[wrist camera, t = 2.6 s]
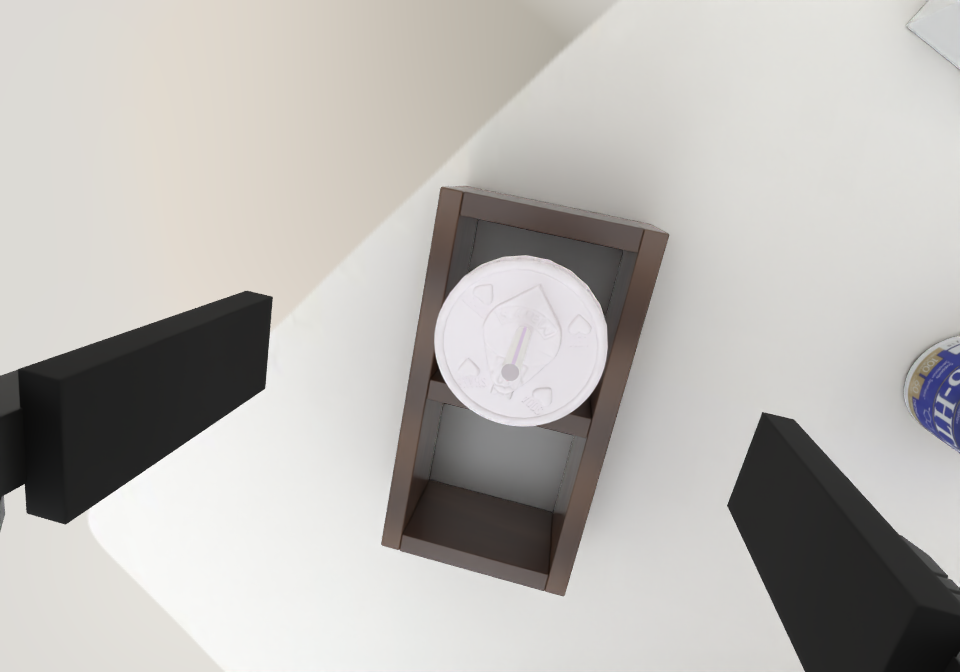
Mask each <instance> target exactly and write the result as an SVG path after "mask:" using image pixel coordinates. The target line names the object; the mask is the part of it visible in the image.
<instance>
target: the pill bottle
mask: <svg viewBox="0 0 960 672" xmlns="http://www.w3.org/2000/svg"><path fill="white" fill-rule="evenodd" d="M904 398H905V403H906V406H907V408H908V410H909V412H910V414H911V415H912V416H913V418H914V419H915V420H916V421H917V422H918V423H919V424H920V425H921V426H923V427H924V428H925V429H927V430H928V431H929V432H931V433H932V434H933V435H935V436H936V437H938V438H939V439H940V440H942V441H943V442H945V443H946V444H947V445H949V446H950V447H952V448H953V449H955V450H956V451H957V452H959V453H960V336H956V337H952V338H949V339H946V340H944V341H941V342H939V343H937V344H936V345H934V346H932V347H931V348H929V349H928V350H926V351H925V352H924V353H923V354H922V355H921V356H920V357H919V358H918V359H917V360H916V361H915V363H914V364H913V365H912V367H911V369H910V371H909V372H908V375H907V378H906V381H905V386H904Z"/></svg>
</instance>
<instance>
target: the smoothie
mask: <svg viewBox="0 0 960 672" xmlns="http://www.w3.org/2000/svg"><path fill="white" fill-rule="evenodd" d="M434 345H435V354H436V359H437V363H438V366H439V369H440V372H441V374H442V376H443V378H444V380H445V382H446V384H447V385H448V387H449V388H450V390H451V391H452V392H453V394H454V395H455V396H456V397H457V398H458V399H459V400H460V401H461V402H462V403H463V404H464V405H465V406H467V407H468V408H469V409H470V410H472V411H473V412H475V413H477V414H478V415H480V416H482V417H484V418H486V419H489V420H491V421H494V422H497V423H500V424H505V425H510V426H524V427H525V426H536V425H542V424H546V423H550V422H552V421H555V420H558V419H560V418H562V417H564V416H566V415H568V414H569V413H571V412H572V411H574V410H575V409H576V408H578V407H579V406H580V405H581V404H582V403H583V402H584V401H585V400H586V399H587V398H588V397H589V396H590V394H591V393H592V392H593V390H594V389H595V387H596V386H597V384H598V382H599V380H600V378H601V376H602V373H603V370H604V367H605V363H606V357H607V349H608V342H607V324H606V321H605V318H604V315H603V312H602V309H601V305H600V304H599V302H598V300H597V299H596V297H595V296H594V294H593V293H592V291H591V290H590V288H589V287H588V285H587V284H585V283H584V282H583V281H582V280H581V279H580V278H579V277H577V276H576V275H575V274H574V273H573V272H572V271H571V270H569V269H567V268H565V267H563V266H561V265H559V264H557V263H555V262H553V261H551V260H548V259H543V258H538V257H533V256H528V255H522V256H507V257H501V258H498V259H495V260H492V261H490V262H487V263H484V264H481V265H480V266H478V267H477V268H476V269H474V270H473V271H471V272H470V273H468V274H467V275H465V276H464V277H463V278H462V279H461V280H460V282H459V283H458V284H457V285H456V286H455V287H454V289H453V290H452V291H451V292H450V293H449V296H448V297H447V299H446V300H445V302H444V304H443V306H442V308H441V310H440V313H439V316H438V319H437V323H436V328H435V337H434Z"/></svg>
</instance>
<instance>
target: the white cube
mask: <svg viewBox="0 0 960 672" xmlns="http://www.w3.org/2000/svg"><path fill="white" fill-rule="evenodd" d="M906 26H907V27H908V28H909V29H910V30H911V31H913V32H914V33H915V34H916V35H918V36H919V37H920V38H921V39H923V40H924V41H925V42H926V43H928V44H929V45H930V46H931V47H932V48H934V49H935V50H936V51H937V52H939V53H940V54H941V55H942V56H944V57H945V58H946V59H947V60H949V61H950V62H951V63H952V64H953V65H955V66H956V67H957V68H958V69H960V0H928V1H927V3H926V4H925V5H924V6H923V7H922V8H921V9H920V10H919V12H918V13H917V14H916V15H915V16H914V17H913V18H912V19H911V21H910V22H909V23H908V24H907V25H906Z"/></svg>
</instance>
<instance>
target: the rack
mask: <svg viewBox="0 0 960 672" xmlns="http://www.w3.org/2000/svg"><path fill="white" fill-rule="evenodd" d="M478 219H480V220H484V221H489V222H494V223H498V224H503V225H508V226H513V227H517V228H522V229H527V230H531V231H536V232H541V233H545V234H550V235H555V236H560V237H564V238H569V239H574V240H578V241H583V242H588V243H592V244H597V245H602V246H607V247H611V248H616V249H621V250H623V254H622V258H621V261H620V265H619V269H618V273H617V276H616V280H615V284H614V287H613V291H612V295H611V299H610V302H609V306H608V310H607V314H606V317H605V321H606V324H607V342H608V349H607V357H606V363H605V367H604V370H603V373H602V376H601V378H600V380H599V382H598V384H597V386H596V387H595V389H594V390H593V392H592V393H591V394H590V396H589V397H588V398H587V399H586V400H585V401H584V402H583V403H582V404H581V405H580V406H579V407H578V408H576V409H575V410H574V411H572V412H571V413H569V414H568V415H566V416H564V417H562V418H560V419H558V420H555V421H552V422H550V423H546V424H542V425H536V426H538V427H542V428H546V429H550V430H554V431H558V432H562V433H566V434H570V435H574V436H573V440H572V444H571V448H570V451H569V455H568V459H567V462H566V466H565V470H564V474H563V477H562V481H561V485H560V489H559V492H558V496H557V500H556V503H555V507H554V511H553V512H549V511H546V510H542V509H538V508H534V507H531V506H527V505H523V504H519V503H515V502H512V501H508V500H504V499H500V498H497V497H493V496H489V495H485V494H481V493H478V492H474V491H470V490H466V489H462V488H459V487H455V486H451V485H447V484H444V483H440V482H436V481H432V480H429V477H430V472H431V467H432V461H433V456H434V451H435V446H436V440H437V435H438V430H439V424H440V419H441V414H442V409H443V403H446V404H450V405H454V406H458V407H462V408H466V409H469V408H468V407H467V406H465V405H464V404H463V403H462V402H461V401H460V400H459V399H458V398H457V397H456V396H455V395H454V394H453V392H452V391H451V390H450V388H449V387H448V385H447V384H446V382H445V380H444V378H443V376H442V374H441V372H440V369H439V366H438V363H437V359H436V354H435V345H434V337H435V328H436V323H437V319H438V316H439V313H440V310H441V308H442V306H443V304H444V302H445V300H446V299H447V297H448V296H449V293H450V292H451V291H452V290H453V289H454V287H455V286H456V285H457V284H458V283H459V282H460V280H461V279H462V278H463V277H464V276H465V275H467V274H468V271H469V266H470V260H471V255H472V250H473V245H474V239H475V234H476V229H477V223H478ZM668 237H669V234H668V233H666V232H664V231H662V230H660V229H659V228H657V227H655V226H653V225H651V224H647V223H642V222H638V221H631V220H628V219H623V218H618V217H613V216H609V215H604V214H599V213H594V212H589V211H584V210H580V209H575V208H570V207H565V206H560V205H555V204H551V203H546V202H541V201H536V200H531V199H526V198H522V197H517V196H512V195H507V194H502V193H497V192H493V191H488V190H482V189H478V188H473V187H468V186H453V187H441V189H440V195H439V201H438V207H437V213H436V219H435V225H434V231H433V237H432V243H431V249H430V255H429V261H428V267H427V273H426V279H425V285H424V291H423V297H422V303H421V309H420V315H419V321H418V327H417V333H416V339H415V345H414V351H413V357H412V363H411V369H410V375H409V381H408V387H407V393H406V399H405V405H404V411H403V417H402V423H401V429H400V435H399V441H398V447H397V453H396V459H395V465H394V471H393V477H392V482H391V488H390V494H389V500H388V506H387V512H386V518H385V524H384V530H383V536H382V542H381V544H382V546H386V547H389V548H393V549H397V550H399V549H400V551H402V552H406V553H410V554H413V555H417V556H420V557H424V558H428V559H431V560H435V561H438V562H442V563H445V564H449V565H453V566H456V567H460V568H463V569H467V570H470V571H474V572H478V573H481V574H485V575H488V576H492V577H495V578H499V579H503V580H506V581H510V582H513V583H517V584H521V585H524V586H528V587H531V588H535V589H538V590H542V591H544V590H545V591H546V592H549V593H553V594H557V595H560V596H564V595H565V592H566V589H567V585H568V582H569V579H570V575H571V572H572V568H573V565H574V561H575V558H576V554H577V551H578V548H579V544H580V541H581V537H582V534H583V530H584V527H585V523H586V520H587V517H588V513H589V510H590V506H591V503H592V499H593V496H594V492H595V489H596V486H597V482H598V479H599V475H600V472H601V468H602V465H603V461H604V458H605V454H606V451H607V448H608V444H609V441H610V437H611V434H612V430H613V427H614V423H615V420H616V417H617V413H618V410H619V406H620V403H621V399H622V396H623V392H624V389H625V386H626V382H627V379H628V375H629V372H630V368H631V365H632V361H633V358H634V355H635V351H636V348H637V344H638V341H639V337H640V334H641V330H642V327H643V324H644V320H645V317H646V313H647V310H648V306H649V303H650V299H651V296H652V293H653V289H654V286H655V282H656V279H657V275H658V272H659V268H660V265H661V262H662V258H663V255H664V251H665V248H666V244H667V241H668Z"/></svg>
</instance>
